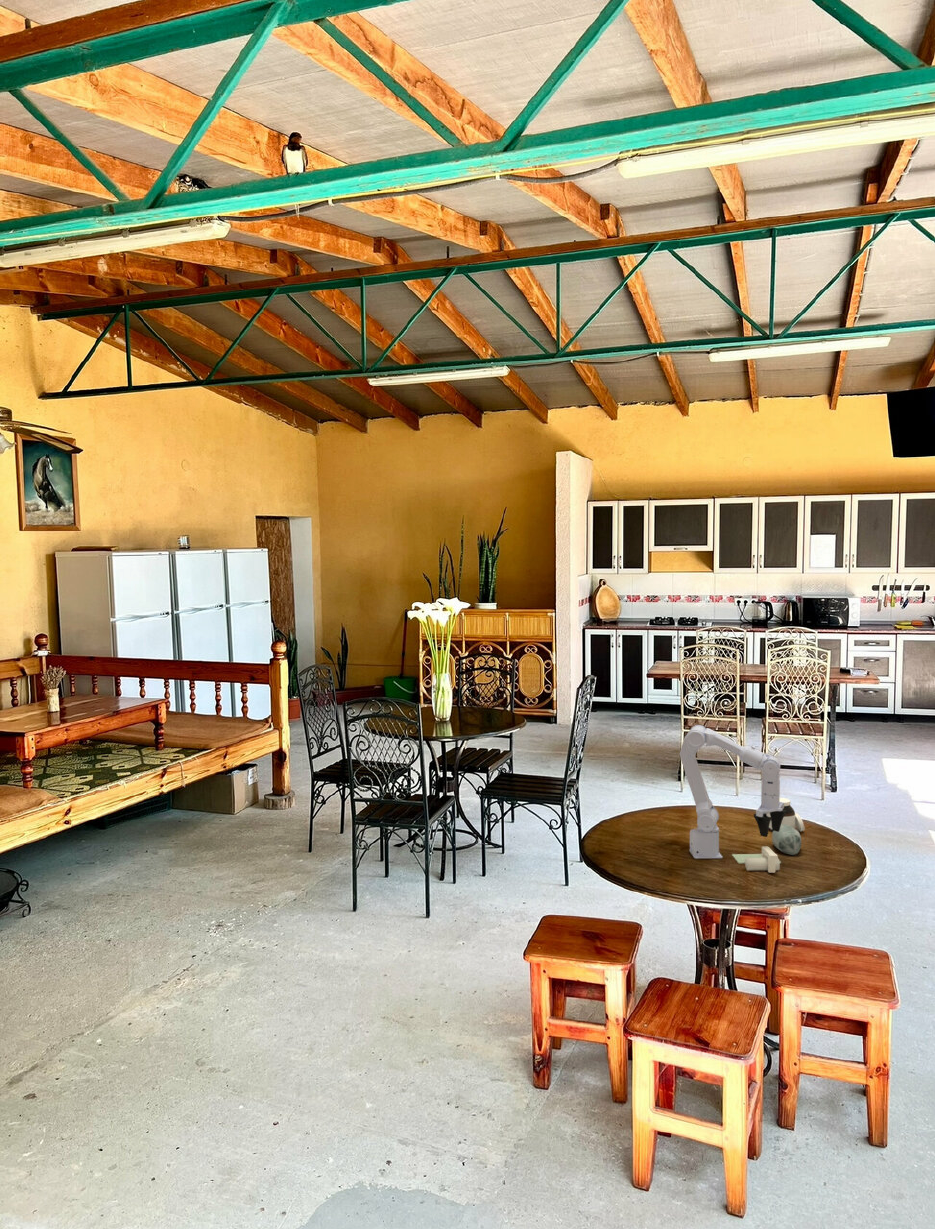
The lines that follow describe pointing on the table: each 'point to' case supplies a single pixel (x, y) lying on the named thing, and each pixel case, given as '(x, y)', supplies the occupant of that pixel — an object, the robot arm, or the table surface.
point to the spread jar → (789, 816)
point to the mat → (741, 857)
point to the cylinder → (759, 864)
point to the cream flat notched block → (769, 858)
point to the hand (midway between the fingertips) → (769, 833)
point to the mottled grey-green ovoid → (787, 840)
